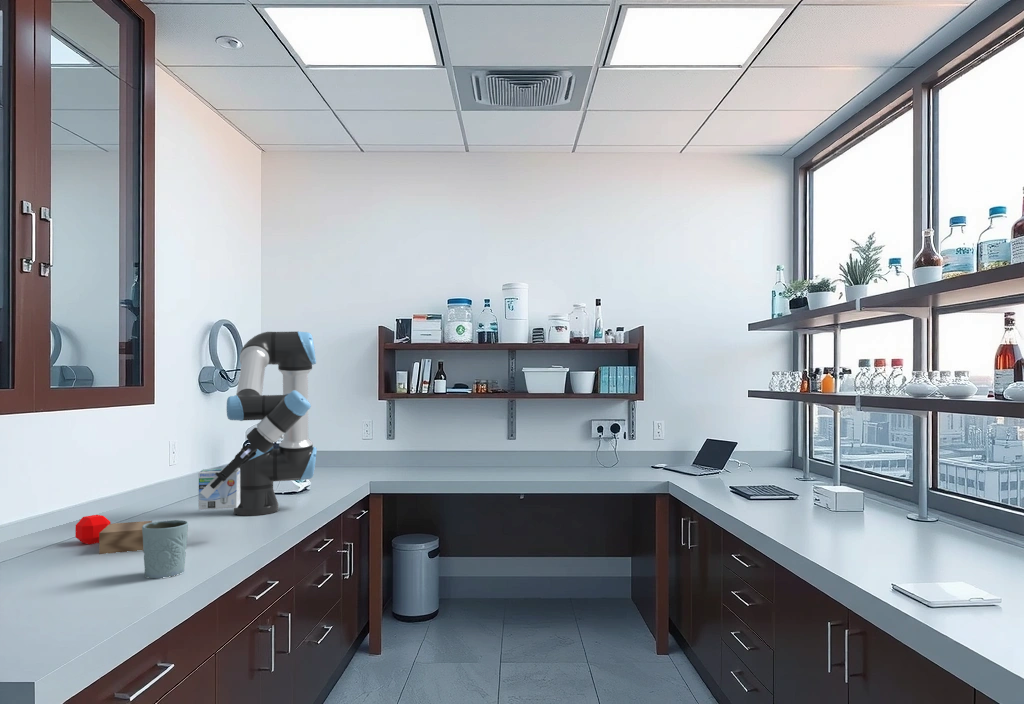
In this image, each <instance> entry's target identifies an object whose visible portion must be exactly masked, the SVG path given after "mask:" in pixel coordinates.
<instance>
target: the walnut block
mask: <svg viewBox="0 0 1024 704" xmlns="http://www.w3.org/2000/svg"><path fill="white" fill-rule="evenodd" d="M151 522H153V520H145V521H144V520H143V521H131V522H129V521H128V522H115V523H114V522H113V523H111V524H109V525H108V526H107V527H106V528H104V529H103V530H102V531H101V532H100V533H99V543H98V550H99V551H98V554H99V555H106V553H108V554H117V553H116V552H120V553H128V552H127V551H132V552H138V551H137V550H143V534H142V526H143V525H145V524H147V523H151Z"/></svg>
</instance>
